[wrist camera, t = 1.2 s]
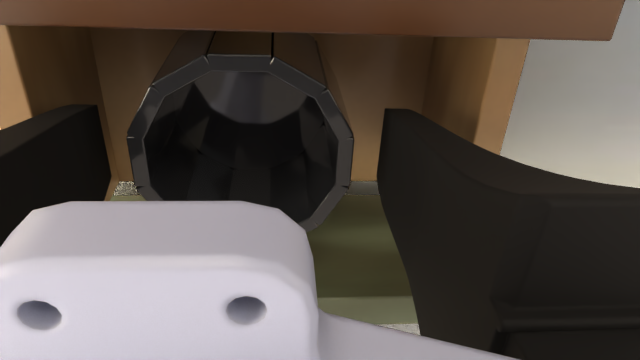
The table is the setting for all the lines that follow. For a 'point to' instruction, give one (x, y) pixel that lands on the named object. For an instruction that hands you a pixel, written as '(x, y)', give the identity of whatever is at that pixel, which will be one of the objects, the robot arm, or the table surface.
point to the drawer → (360, 102)
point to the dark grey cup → (244, 125)
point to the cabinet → (334, 16)
